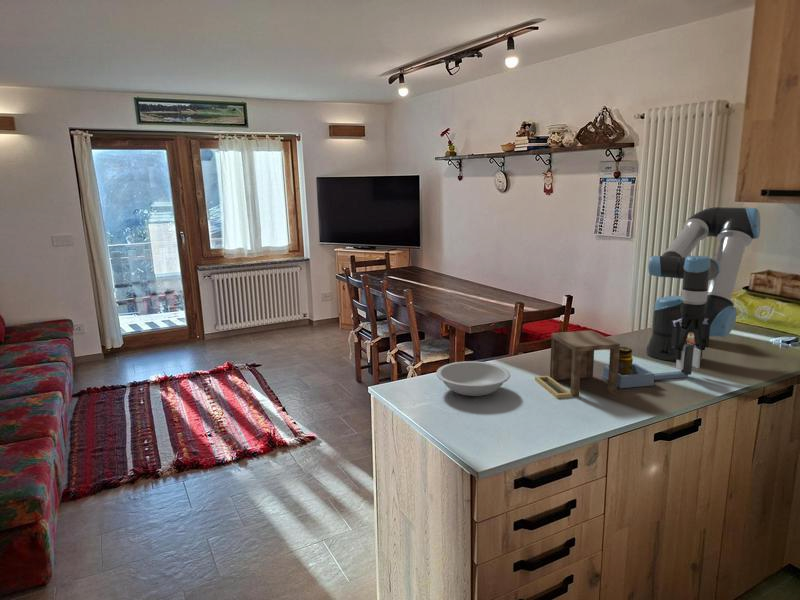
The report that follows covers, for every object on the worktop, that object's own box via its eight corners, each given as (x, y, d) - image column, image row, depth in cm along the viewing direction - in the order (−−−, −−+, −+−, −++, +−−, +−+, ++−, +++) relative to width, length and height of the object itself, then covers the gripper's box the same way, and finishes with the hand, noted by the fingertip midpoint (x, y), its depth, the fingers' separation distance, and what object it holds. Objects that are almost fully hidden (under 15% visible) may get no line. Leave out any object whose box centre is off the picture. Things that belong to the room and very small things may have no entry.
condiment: (636, 383, 182) (638, 349, 180) (621, 388, 177) (624, 353, 175) (617, 377, 188) (619, 344, 186) (602, 382, 183) (604, 348, 181)
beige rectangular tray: (548, 378, 187) (548, 375, 187) (571, 397, 171) (571, 393, 171) (534, 380, 186) (534, 376, 186) (556, 398, 170) (557, 394, 170)
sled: (679, 370, 192) (682, 340, 190) (701, 381, 181) (704, 349, 179) (602, 376, 187) (604, 346, 185) (620, 388, 177) (622, 356, 174)
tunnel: (589, 375, 190) (592, 330, 186) (616, 393, 173) (619, 343, 170) (549, 378, 187) (551, 333, 184) (573, 397, 171) (575, 347, 168)
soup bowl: (455, 374, 193) (455, 357, 192) (520, 386, 181) (520, 367, 180) (423, 397, 173) (423, 378, 172) (494, 411, 161) (494, 390, 160)
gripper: (710, 298, 186) (703, 362, 191) (661, 301, 183) (656, 366, 188) (726, 302, 179) (719, 369, 184) (676, 305, 176) (670, 373, 181)
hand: (687, 367), depth 186 cm, fingers open, 5 cm apart
